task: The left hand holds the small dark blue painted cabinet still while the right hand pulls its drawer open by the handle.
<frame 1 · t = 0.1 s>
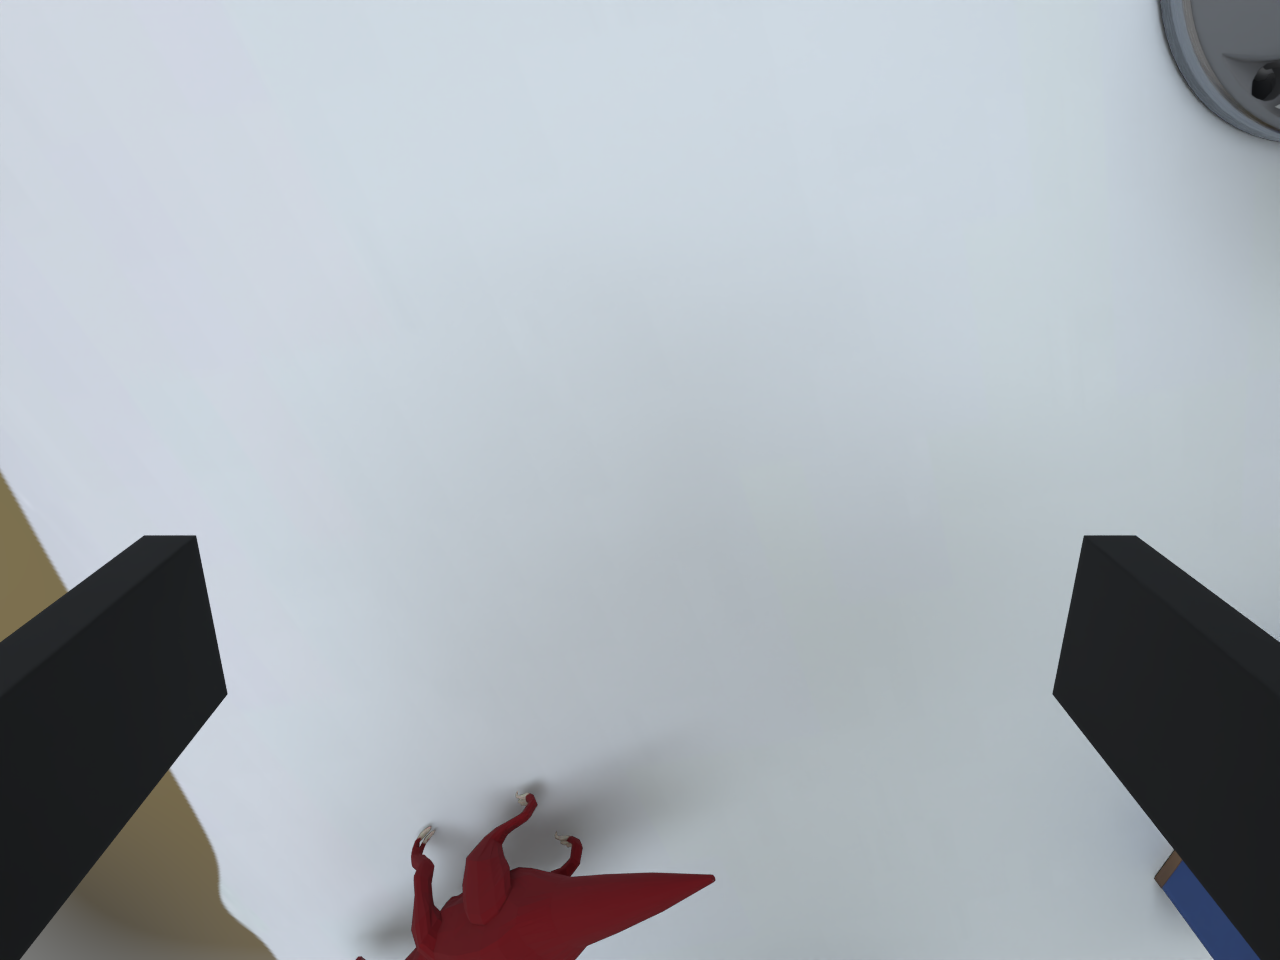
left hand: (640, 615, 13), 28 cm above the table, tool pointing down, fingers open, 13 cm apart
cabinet: (1274, 780, 48), on the table
toy 2: (516, 828, 49), on the table
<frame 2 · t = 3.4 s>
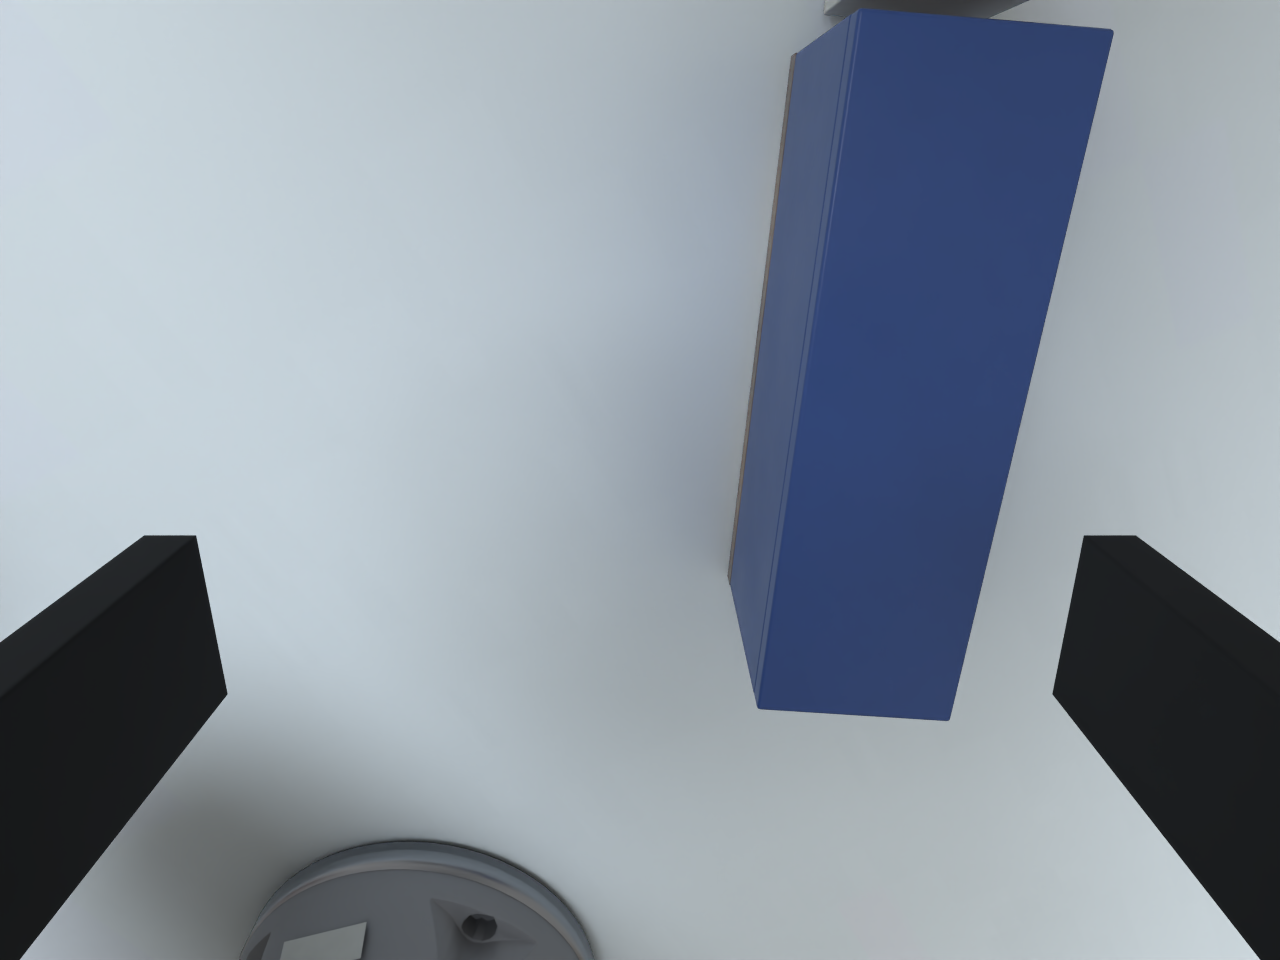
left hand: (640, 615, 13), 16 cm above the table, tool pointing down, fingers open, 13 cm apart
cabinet: (837, 349, 28), on the table
drawer: (904, 167, 22), point 4 cm above the table, slide at 1.0 cm
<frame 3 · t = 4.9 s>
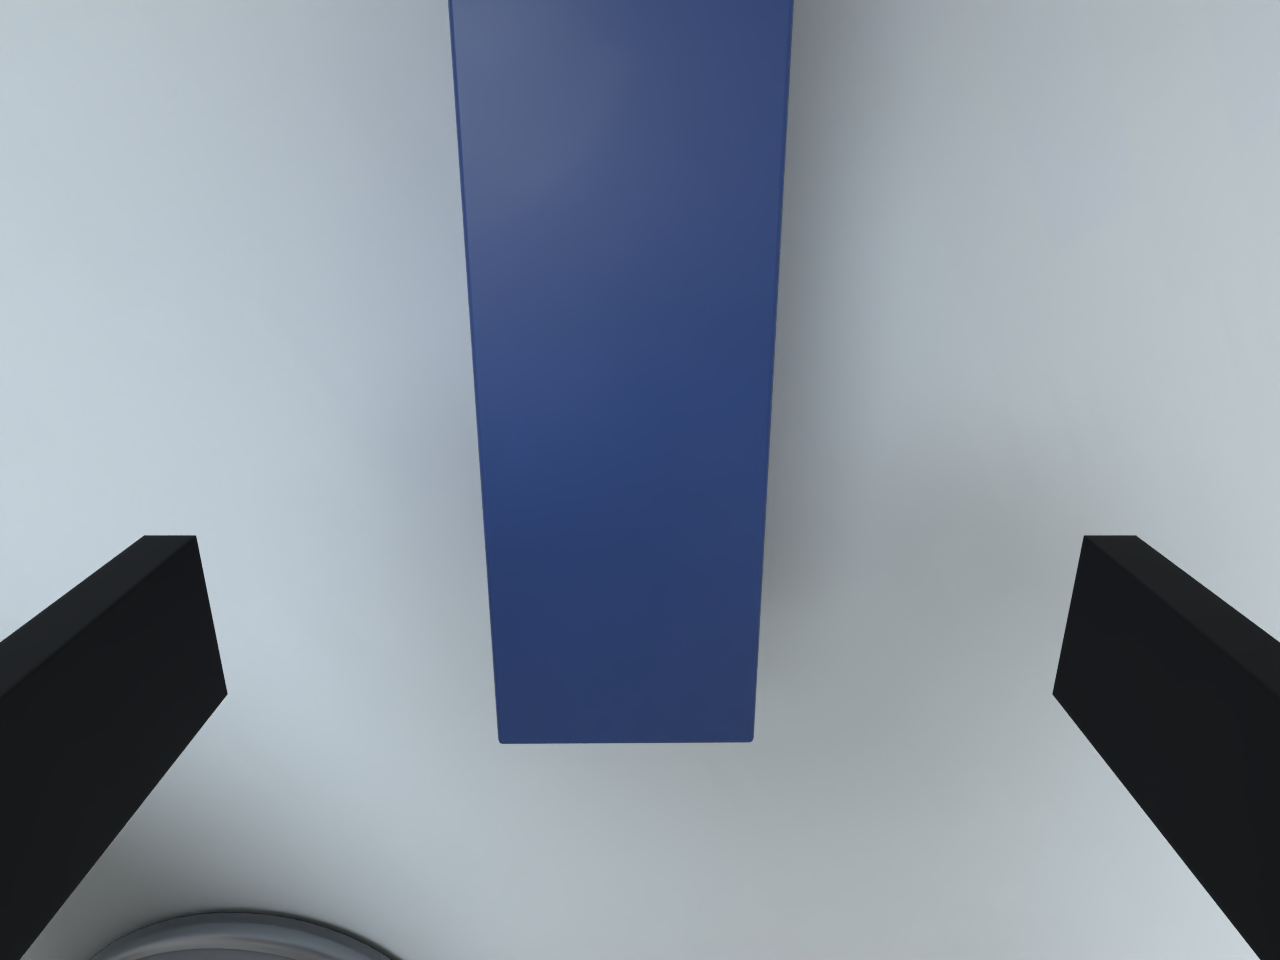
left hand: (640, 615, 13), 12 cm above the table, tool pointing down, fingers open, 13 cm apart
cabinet: (626, 282, 23), on the table
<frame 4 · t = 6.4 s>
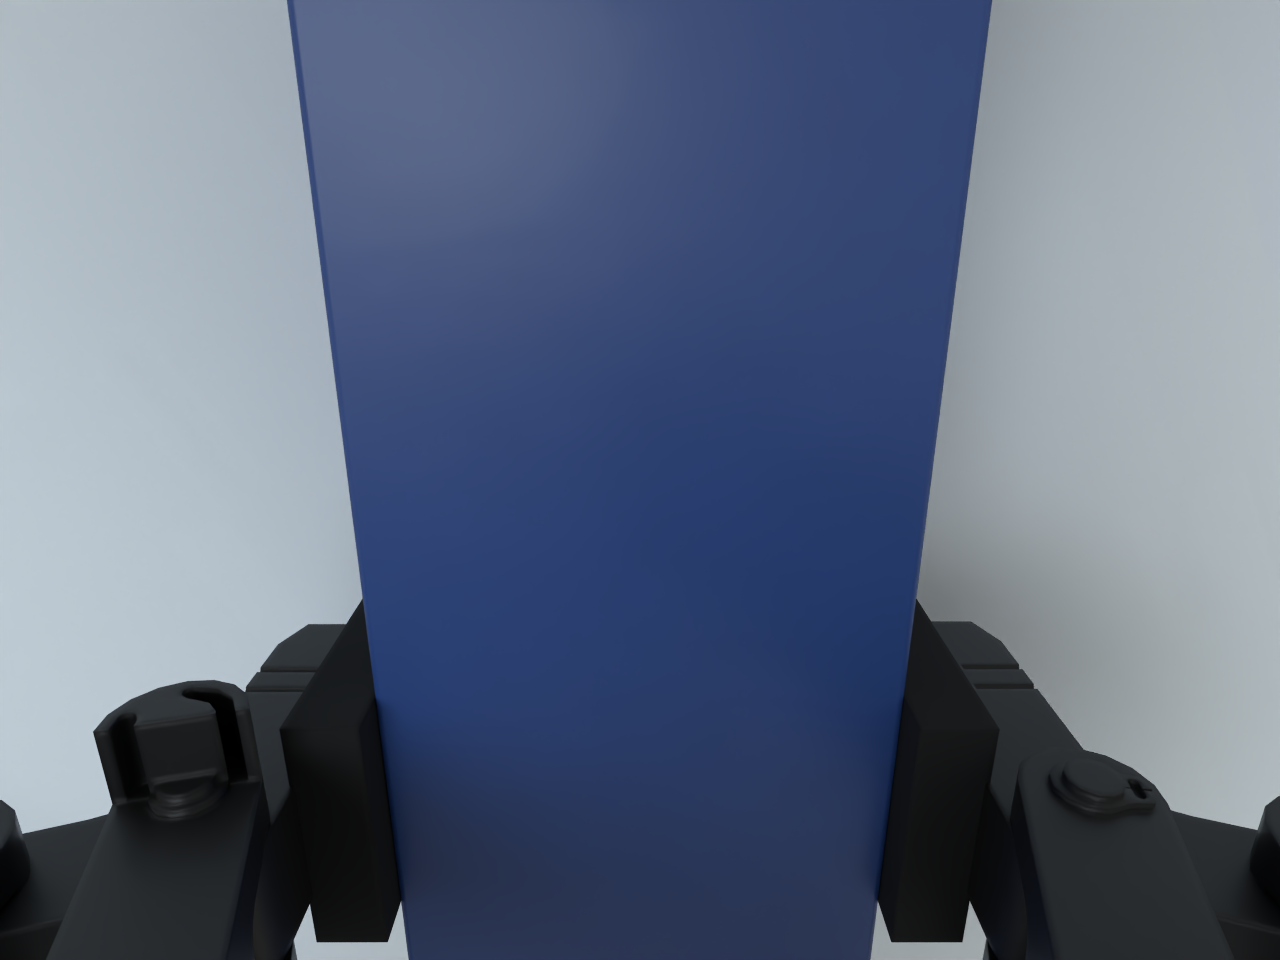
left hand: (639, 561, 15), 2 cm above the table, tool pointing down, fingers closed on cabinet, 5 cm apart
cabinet: (639, 323, 15), on the table, touching left hand
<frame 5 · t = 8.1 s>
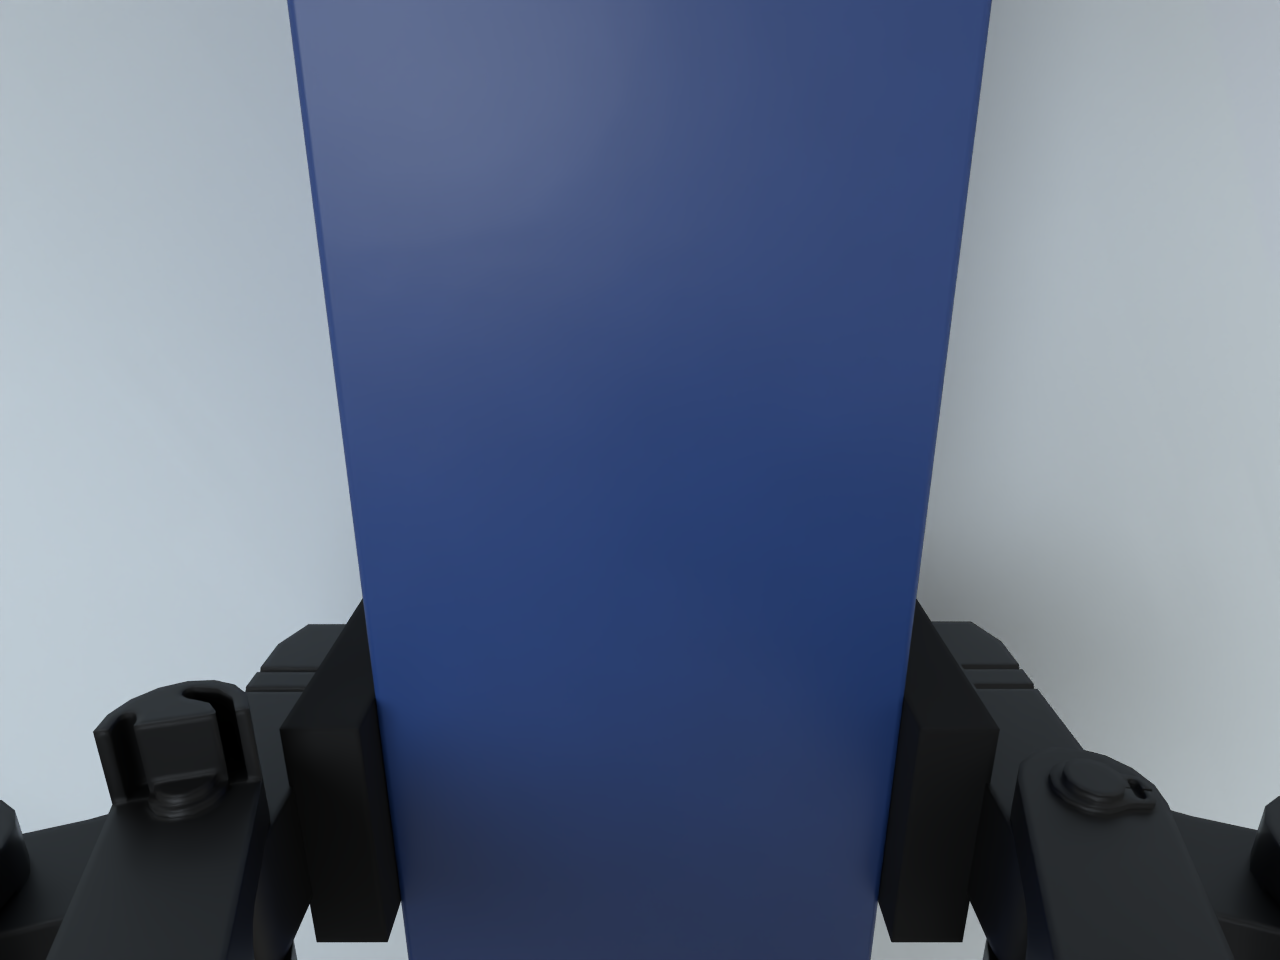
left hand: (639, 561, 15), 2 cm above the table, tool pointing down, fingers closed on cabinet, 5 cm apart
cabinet: (639, 323, 15), on the table, touching left hand
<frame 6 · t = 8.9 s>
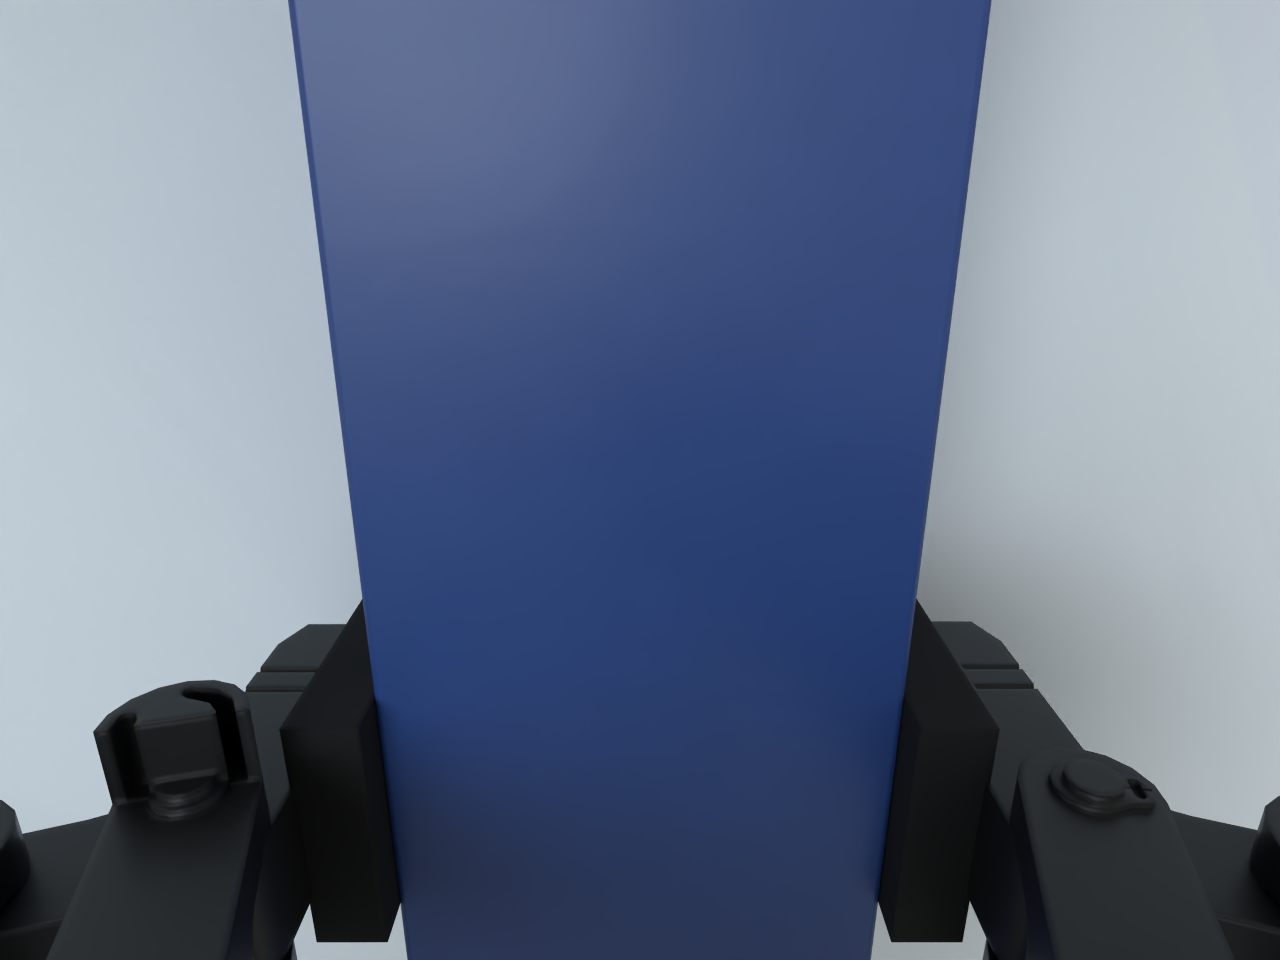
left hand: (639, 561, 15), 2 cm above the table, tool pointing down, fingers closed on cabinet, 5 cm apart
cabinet: (639, 324, 15), on the table, touching left hand
when the left hand's fingers open (2 cm above the table, at t = 10.5 s): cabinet stays where it is, on the table.
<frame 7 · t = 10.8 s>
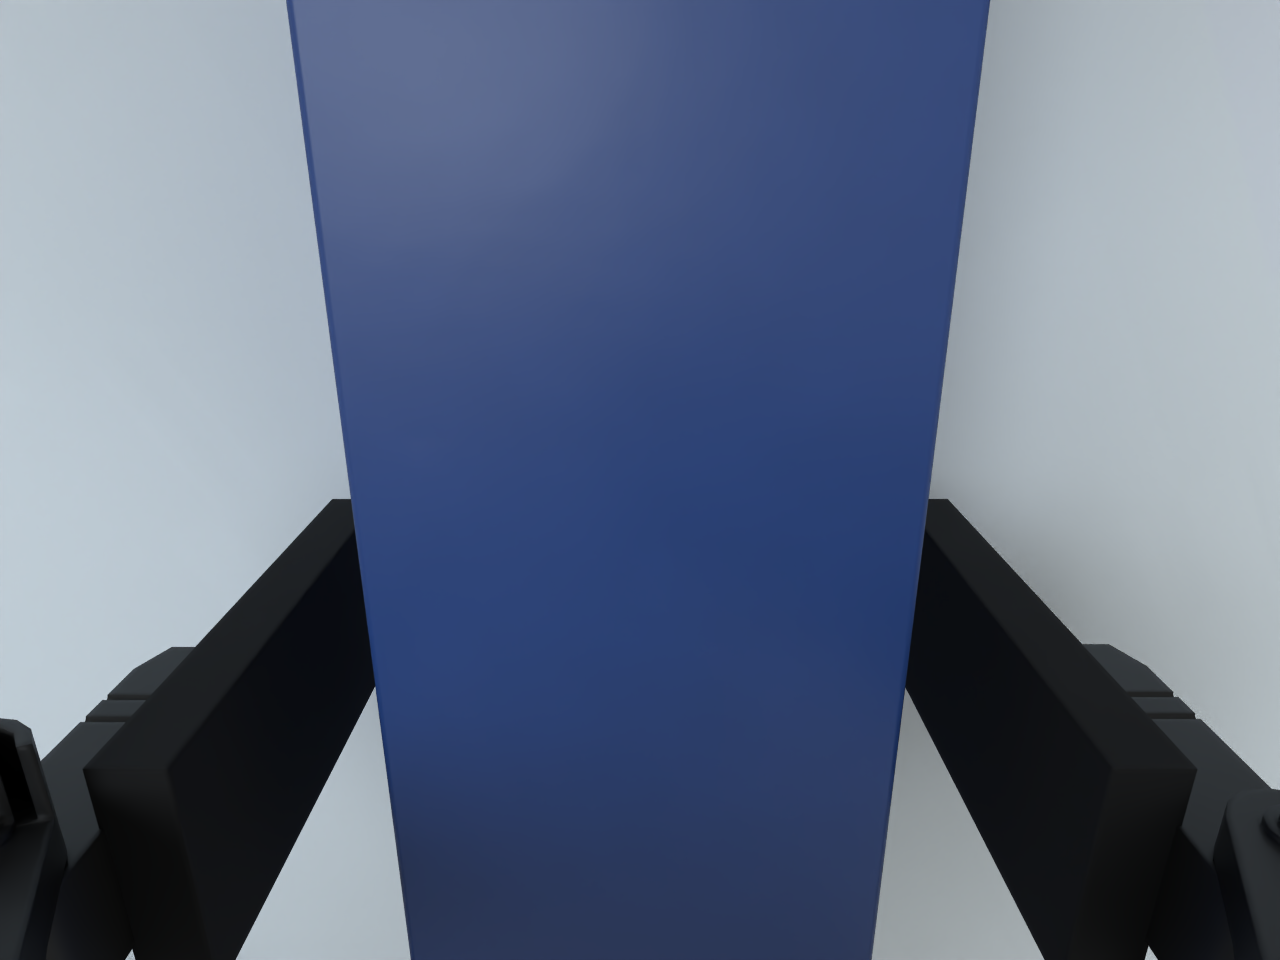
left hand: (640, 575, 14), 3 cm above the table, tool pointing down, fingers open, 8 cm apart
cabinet: (639, 309, 15), on the table
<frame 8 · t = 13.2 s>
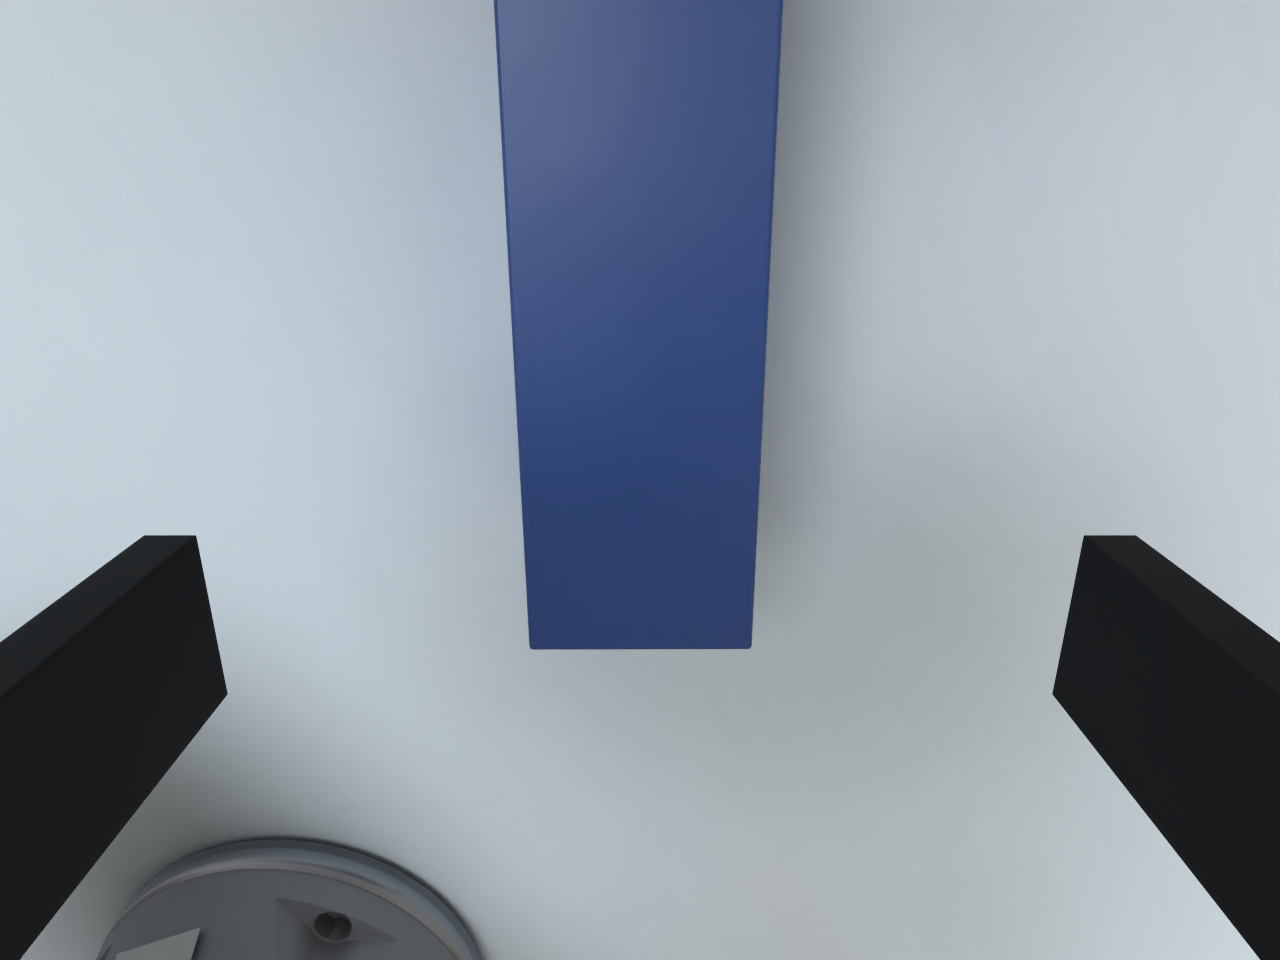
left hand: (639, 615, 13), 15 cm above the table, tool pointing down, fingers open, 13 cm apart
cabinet: (639, 253, 25), on the table
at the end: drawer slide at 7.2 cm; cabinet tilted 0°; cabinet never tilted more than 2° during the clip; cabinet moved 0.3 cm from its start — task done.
